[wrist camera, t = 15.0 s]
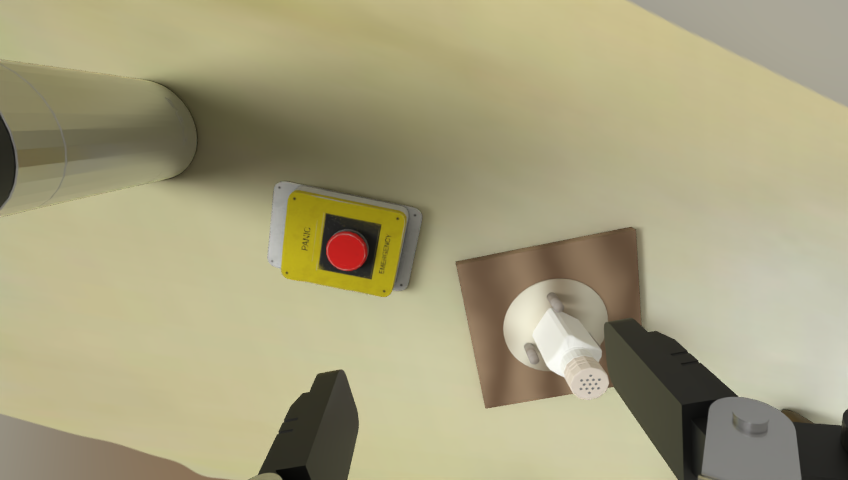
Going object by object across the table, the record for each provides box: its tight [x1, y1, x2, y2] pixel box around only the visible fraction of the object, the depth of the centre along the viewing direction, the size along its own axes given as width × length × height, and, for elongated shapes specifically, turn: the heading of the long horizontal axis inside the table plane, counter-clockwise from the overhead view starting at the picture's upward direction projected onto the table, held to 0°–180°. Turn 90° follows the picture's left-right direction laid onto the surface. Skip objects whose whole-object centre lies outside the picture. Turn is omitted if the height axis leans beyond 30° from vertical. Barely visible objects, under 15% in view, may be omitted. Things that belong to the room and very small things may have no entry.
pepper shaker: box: [532, 308, 609, 400], centre depth 37 cm, size 4×4×10 cm
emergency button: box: [267, 181, 422, 297], centre depth 39 cm, size 9×4×15 cm
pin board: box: [456, 227, 642, 408], centre depth 41 cm, size 18×18×4 cm
